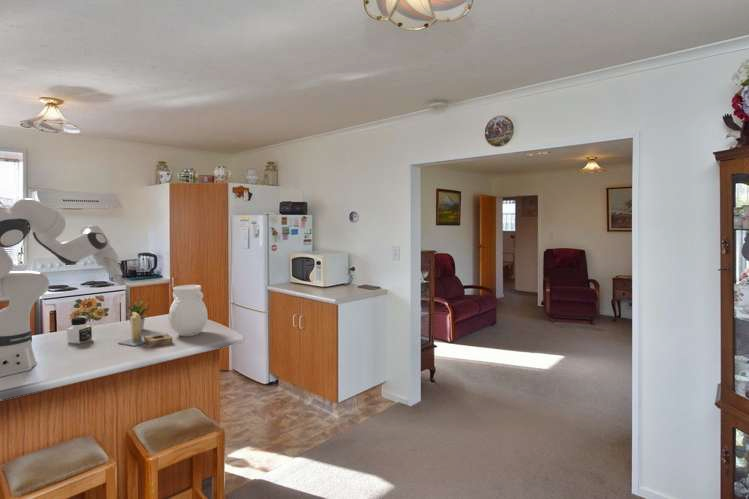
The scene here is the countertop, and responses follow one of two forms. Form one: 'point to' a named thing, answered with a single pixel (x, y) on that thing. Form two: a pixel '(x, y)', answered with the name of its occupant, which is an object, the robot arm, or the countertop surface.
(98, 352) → the countertop surface
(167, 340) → the socket block
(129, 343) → the slate mat
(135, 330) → the t key
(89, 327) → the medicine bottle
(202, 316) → the white vase
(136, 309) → the house plant
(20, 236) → the robot arm
